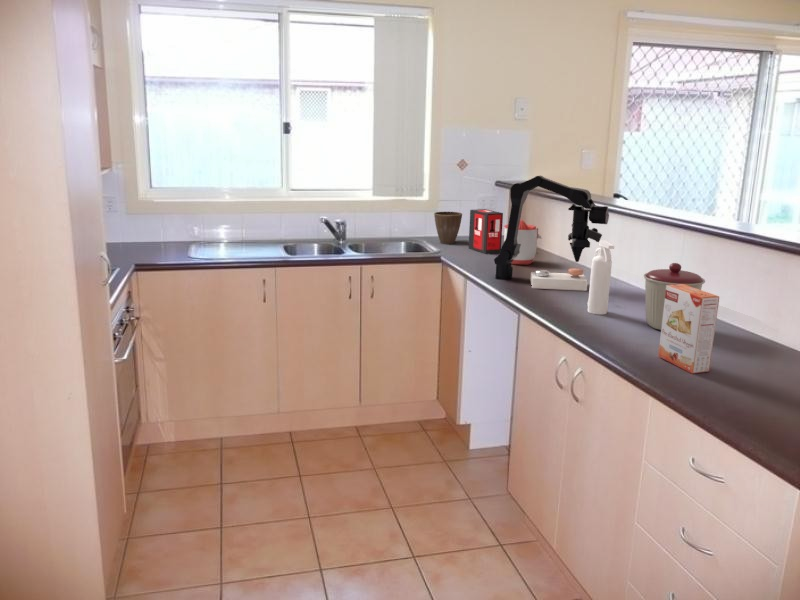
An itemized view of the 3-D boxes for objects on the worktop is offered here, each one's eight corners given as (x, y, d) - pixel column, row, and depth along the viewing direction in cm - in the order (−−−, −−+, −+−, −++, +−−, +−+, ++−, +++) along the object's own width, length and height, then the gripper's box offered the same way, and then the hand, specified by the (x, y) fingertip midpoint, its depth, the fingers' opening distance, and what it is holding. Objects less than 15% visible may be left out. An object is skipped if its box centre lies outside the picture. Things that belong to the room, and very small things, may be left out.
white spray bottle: (598, 305, 244) (603, 236, 236) (613, 316, 232) (620, 243, 225) (580, 306, 242) (585, 237, 235) (594, 317, 231) (600, 244, 224)
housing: (532, 288, 269) (532, 278, 268) (530, 281, 280) (530, 271, 279) (586, 290, 266) (587, 280, 265) (582, 283, 278) (583, 274, 277)
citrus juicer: (542, 266, 310) (545, 222, 305) (504, 265, 311) (506, 222, 306) (536, 260, 326) (539, 218, 321) (500, 259, 326) (502, 217, 321)
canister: (685, 320, 228) (693, 258, 222) (708, 336, 210) (717, 269, 205) (631, 319, 228) (637, 257, 223) (648, 335, 211) (656, 268, 205)
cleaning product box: (500, 253, 342) (503, 213, 337) (485, 254, 338) (487, 213, 333) (483, 247, 356) (485, 209, 351) (468, 248, 352) (470, 209, 347)
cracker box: (656, 357, 191) (665, 284, 185) (674, 355, 192) (683, 283, 187) (691, 374, 178) (701, 296, 172) (710, 372, 180) (721, 295, 174)
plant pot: (447, 246, 357) (448, 215, 353) (427, 242, 368) (428, 212, 364) (466, 243, 367) (468, 213, 363) (446, 239, 378) (447, 210, 374)
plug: (534, 285, 272) (535, 272, 270) (533, 282, 277) (534, 269, 276) (549, 286, 271) (550, 273, 270) (547, 282, 276) (548, 270, 275)
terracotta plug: (568, 284, 270) (569, 271, 269) (566, 281, 275) (567, 268, 274) (582, 284, 269) (584, 271, 268) (581, 281, 275) (582, 268, 273)
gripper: (605, 226, 256) (601, 267, 260) (597, 219, 274) (594, 258, 278) (575, 225, 258) (571, 266, 261) (569, 218, 276) (566, 257, 279)
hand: (577, 261), depth 270 cm, fingers closed
